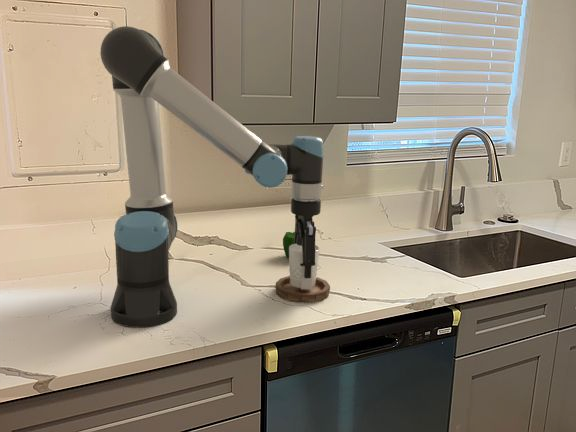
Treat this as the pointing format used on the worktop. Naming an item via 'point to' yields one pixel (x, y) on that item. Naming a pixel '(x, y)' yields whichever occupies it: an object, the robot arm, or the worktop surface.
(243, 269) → the worktop surface
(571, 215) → the worktop surface
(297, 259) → the white cup
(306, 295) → the ring tray
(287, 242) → the bell pepper
